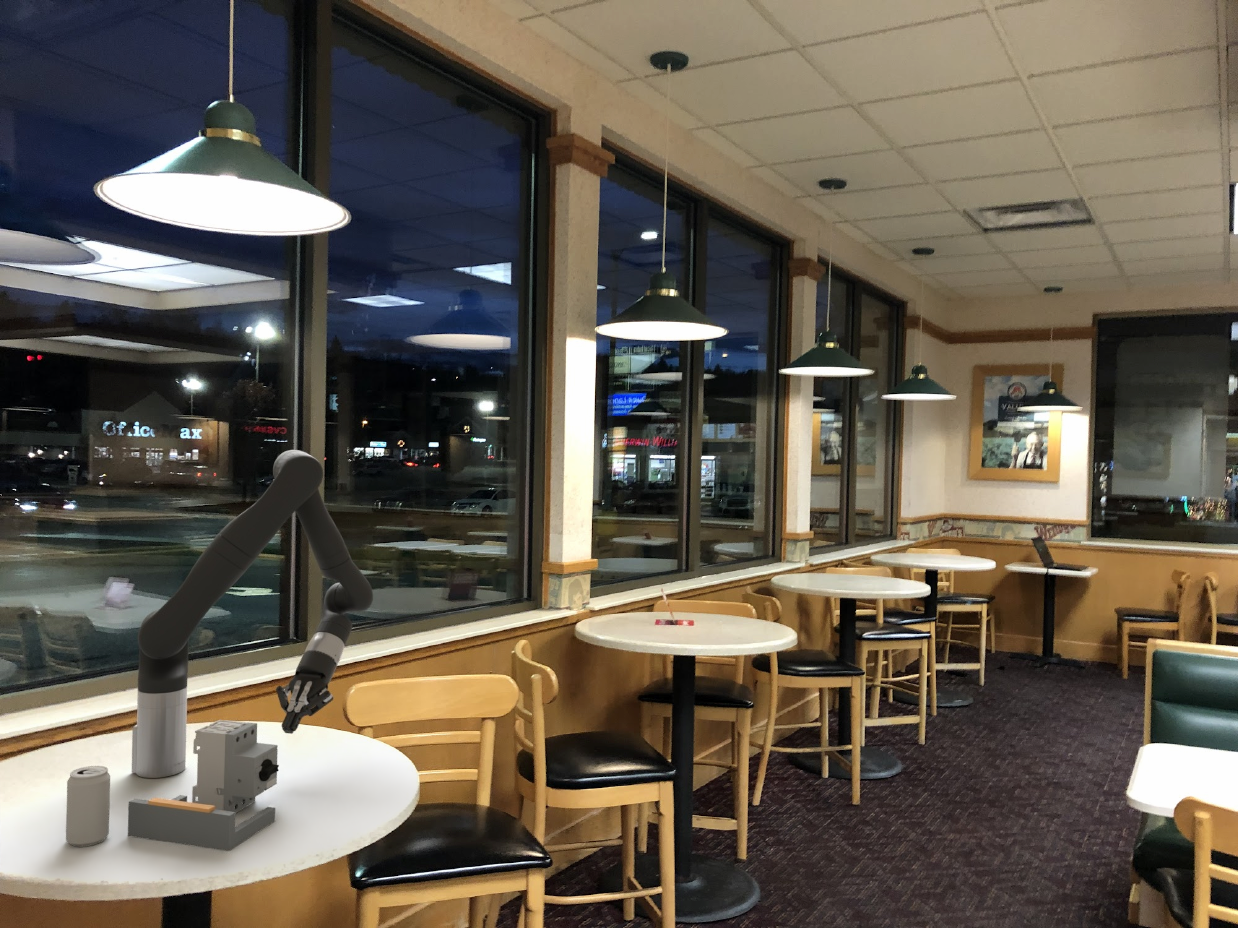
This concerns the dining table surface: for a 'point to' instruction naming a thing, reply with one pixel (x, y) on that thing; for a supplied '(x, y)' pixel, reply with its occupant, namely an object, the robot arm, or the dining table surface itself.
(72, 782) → the beverage can
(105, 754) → the dining table surface
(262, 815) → the breaker bay
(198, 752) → the circuit breaker
